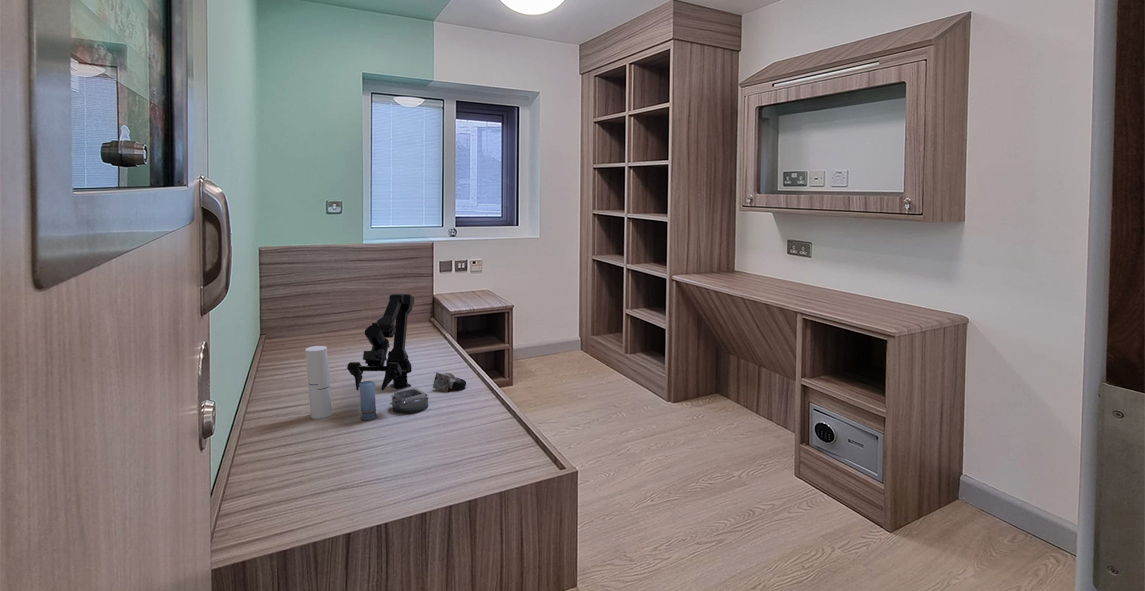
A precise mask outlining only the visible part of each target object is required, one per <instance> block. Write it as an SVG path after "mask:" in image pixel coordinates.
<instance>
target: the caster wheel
mask: <svg viewBox="0 0 1145 591" xmlns="http://www.w3.org/2000/svg"><path fill="white" fill-rule="evenodd" d="M466 385H467V381H465V379H463V378H459V377H456V376H455V375H454V374H453V373H452V372H444V373H441V372H435V376H434V380H433V384H432V389H435V390H438V391H441V392H444V393H448V391H449V389H454V390H464V389H466Z"/></svg>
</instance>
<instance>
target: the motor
mask: <svg viewBox="0 0 1145 591" xmlns="http://www.w3.org/2000/svg"><path fill="white" fill-rule="evenodd" d="M390 397H391V406H392V411H393V412H394V413H396V414H400V415H404V414H405V415H409V414H417V413H420V412H423V411H426V410H427V409H428V408H429V395H428V394H427V393H426V392H424V391H422V390H420V389H418V388H409V389H405V390H401V391H395V392H394V393H393V394H391V396H390Z"/></svg>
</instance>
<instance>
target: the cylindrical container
mask: <svg viewBox="0 0 1145 591" xmlns="http://www.w3.org/2000/svg"><path fill="white" fill-rule="evenodd" d="M305 360H306V362H305V363H306V374H307V384H308V385H307V386H308V398H309V410H310V411H309V412H310V418H312V419H315V420H318V419H319V420H320V419H325V418H329V417H331V416H332V415H333V408H332V407H333V406H332V398H331V383H330V382H331V381H330V368H329V355H328V346H325V345H314V346H309V347H306V348H305Z"/></svg>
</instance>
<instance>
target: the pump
mask: <svg viewBox="0 0 1145 591" xmlns="http://www.w3.org/2000/svg"><path fill="white" fill-rule="evenodd" d="M375 391H376V390H375V382H374V381H373V380H365V381H361V383H359V398H360V399H359V400H360V401H359V402H360V420H361V421H364V422H368V421H369V422H370V421H374V420H377V419H378V414H377V407H376V405H377V404H376V392H375Z"/></svg>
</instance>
